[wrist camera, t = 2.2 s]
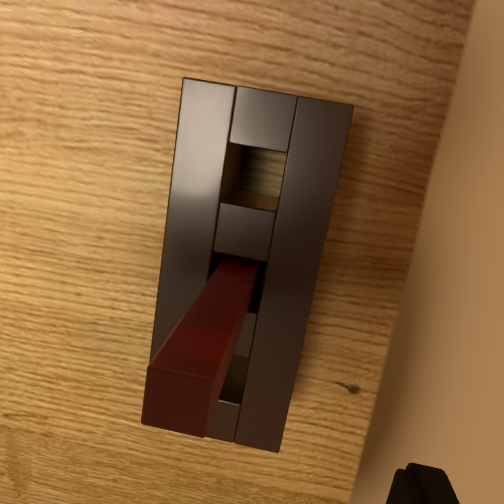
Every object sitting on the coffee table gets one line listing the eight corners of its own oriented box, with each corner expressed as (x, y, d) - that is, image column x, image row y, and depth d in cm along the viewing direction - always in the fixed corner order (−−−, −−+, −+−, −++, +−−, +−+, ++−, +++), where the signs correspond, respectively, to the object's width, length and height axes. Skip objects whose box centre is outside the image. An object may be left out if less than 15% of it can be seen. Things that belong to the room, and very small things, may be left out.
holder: (343, 114, 21) (355, 104, 16) (283, 395, 25) (278, 454, 20) (209, 91, 22) (182, 76, 17) (171, 371, 26) (141, 423, 21)
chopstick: (266, 243, 23) (214, 380, 10) (261, 271, 24) (205, 440, 10) (237, 238, 23) (146, 365, 10) (232, 266, 24) (139, 425, 10)
